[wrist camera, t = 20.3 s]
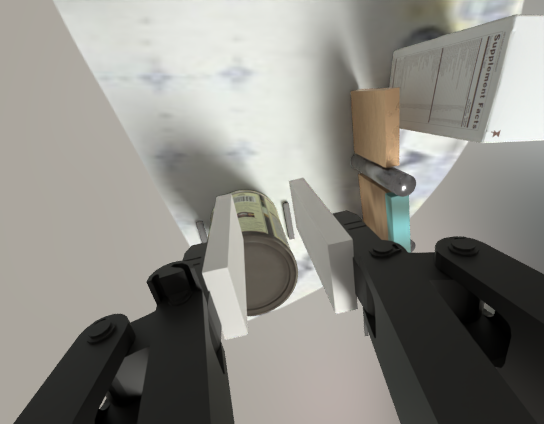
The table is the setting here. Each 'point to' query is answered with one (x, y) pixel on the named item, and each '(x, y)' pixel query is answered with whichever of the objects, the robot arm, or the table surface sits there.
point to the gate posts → (379, 139)
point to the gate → (385, 212)
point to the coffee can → (263, 253)
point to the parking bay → (287, 216)
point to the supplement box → (475, 82)
